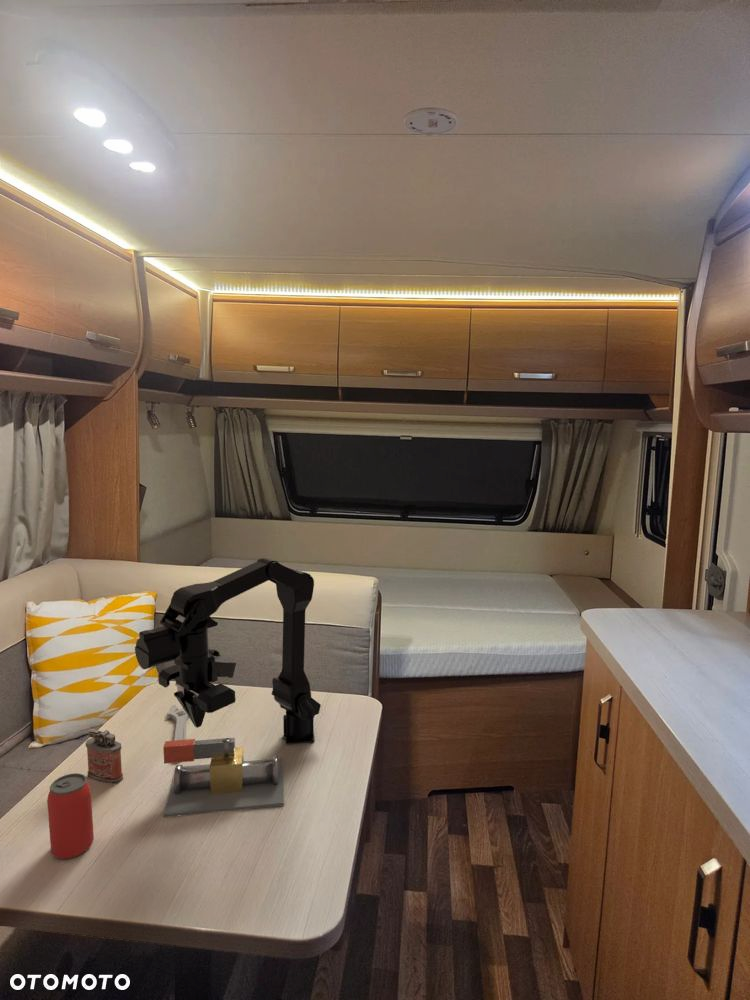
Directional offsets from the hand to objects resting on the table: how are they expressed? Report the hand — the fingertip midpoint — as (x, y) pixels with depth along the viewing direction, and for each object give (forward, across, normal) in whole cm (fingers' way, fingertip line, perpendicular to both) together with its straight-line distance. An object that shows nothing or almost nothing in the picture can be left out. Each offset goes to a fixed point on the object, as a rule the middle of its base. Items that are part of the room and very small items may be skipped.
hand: (198, 726), depth 118 cm
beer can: (+12, +1, +25) cm, 28 cm away
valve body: (+12, -5, -3) cm, 14 cm away
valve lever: (+6, -2, +1) cm, 6 cm away
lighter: (+12, +16, +12) cm, 24 cm away
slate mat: (+12, -5, -3) cm, 14 cm away
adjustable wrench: (+13, +21, -7) cm, 26 cm away
